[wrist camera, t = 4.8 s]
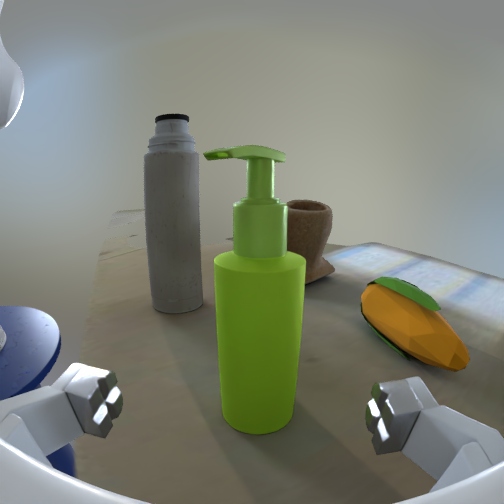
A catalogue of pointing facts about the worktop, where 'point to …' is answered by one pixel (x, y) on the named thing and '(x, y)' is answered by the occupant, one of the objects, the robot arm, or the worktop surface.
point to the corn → (412, 323)
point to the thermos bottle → (173, 216)
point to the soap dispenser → (258, 302)
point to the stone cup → (309, 235)
